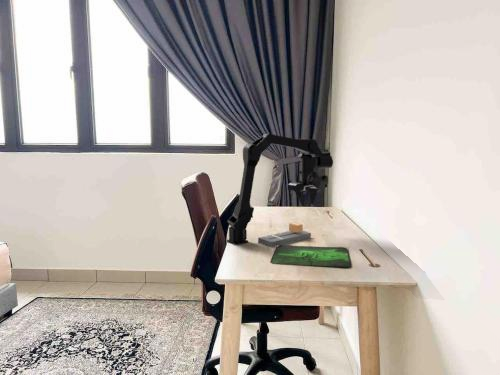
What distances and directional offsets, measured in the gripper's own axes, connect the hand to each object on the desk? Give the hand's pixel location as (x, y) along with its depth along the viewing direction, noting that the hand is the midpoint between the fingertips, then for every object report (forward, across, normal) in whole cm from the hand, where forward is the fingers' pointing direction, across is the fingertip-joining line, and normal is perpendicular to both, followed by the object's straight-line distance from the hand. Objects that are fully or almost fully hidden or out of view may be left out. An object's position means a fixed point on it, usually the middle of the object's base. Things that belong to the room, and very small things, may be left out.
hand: (307, 205), depth 162 cm
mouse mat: (+14, -20, -20) cm, 31 cm away
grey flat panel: (+13, -13, 0) cm, 18 cm away
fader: (+11, -7, 0) cm, 13 cm away
